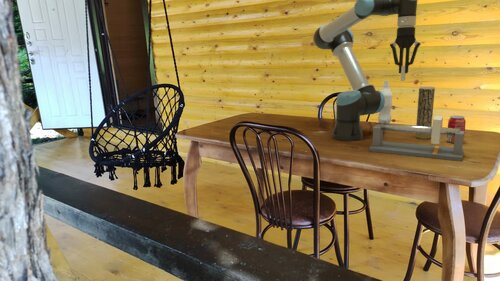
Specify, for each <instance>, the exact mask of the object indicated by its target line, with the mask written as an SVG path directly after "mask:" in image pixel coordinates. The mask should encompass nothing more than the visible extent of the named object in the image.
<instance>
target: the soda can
mask: <svg viewBox="0 0 500 281" xmlns="http://www.w3.org/2000/svg"><path fill="white" fill-rule="evenodd" d="M447 128H457V129H460V131H464V134H466V133H465V132H466V131H465V130H466V119H465V116H463V115H451V116H450V118H449V119H448V123H447ZM464 139H465V137H464V138H463V141H464ZM454 140H455V136H452V135H446V141H448V143H451V144H452V143H453V144H454Z"/></svg>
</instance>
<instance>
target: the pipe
mask: <svg viewBox="0 0 500 281" xmlns="http://www.w3.org/2000/svg"><path fill="white" fill-rule="evenodd" d="M377 125H378V127H381V130H383V131H390V132H400V133H401V132H403V133H415V134H416V133H426V134H431V135H432V126H431V127H427V126H416V125H411V124H395V123H389V124H386V123H384V124H383V123H379V122H378V123H377ZM455 133H460V129H457V128H448V127H443V126H442V127H441V131H440V135H441V136H447V135H452V136H455Z"/></svg>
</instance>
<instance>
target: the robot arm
mask: <svg viewBox="0 0 500 281" xmlns="http://www.w3.org/2000/svg"><path fill="white" fill-rule="evenodd" d="M417 9H418V0H356V2H355V3H354V5H353V7H351V8H350V9H348V10H347V11H345V12H344V13H342V14H341V15H339V16H338V17H336V18H334V20H332V21H331V22H329V23H328V24H323V25H320V26H319V27H318V28H317V29H316V30H315V32H314V34H313V43H314V45H315V47H316V48H318V49H320V50H326V51H328V50H330V51H331V53H332V55H333V56H335V57H337V58H338V60H339V63H340V66H341V67H342V69H343V71H344V74H345V76H346V78H347V80H348V82H349V84H350V86H351V88H352V90H346V91H343V92H340V93H338V94H337V97H336V102H335V103H336V106H335V107H336V109H335V110H336V111H335V112H336V116H335V117H336V119H335V125H334V128H333V130H332V138H333V139H335V140H339V141H346V142H347V141H348V142H349V141H359V140H362V139H364V138H363V137H364V132H363V129H362V127H361V123H360V122H361V116H366V115H369V116H370V115H374V114H379V112H380V111H381V110H382V109H383V107H384V104H385V98H384V95H383V93H382V92H381V91H379V90H376V87H375V86H374V84H370V83H369V80H368V78H367V77H366V74H365V73H364V71H363V68H362V66H361V64H360V62H359V60H358V58H357V56H356V55H355V52H354V51H353V46H354V34H353V32H352V30H350V28H352V27H353V26H355V25H357V24H358V23H360V22H362V21H364V20H365V19H367V18H368V17H371V16H379V17H387V16H393V15H397V25H396V26H397V28H396V38H395V40H394V41H393V43H390V44H389V47H390V48H391V50H392V56H393V61H394V65H396V66H398V74H400V82H403V81H404V82H405V81H406V74H408V73H409V66H412V65H413V64H414V62H415V59H416V55H417V52H418V51H419V50H418V49H419V47H420V46H421V42H419V41H417V39H416V24H417ZM413 45H414V48H413V52H412V54H411V56H410V53H411V52H410V51H411V48H412V46H413ZM396 47H398V48H399V59H398V53H397V48H396ZM404 51H405V60H404ZM404 61H405V63H404Z"/></svg>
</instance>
